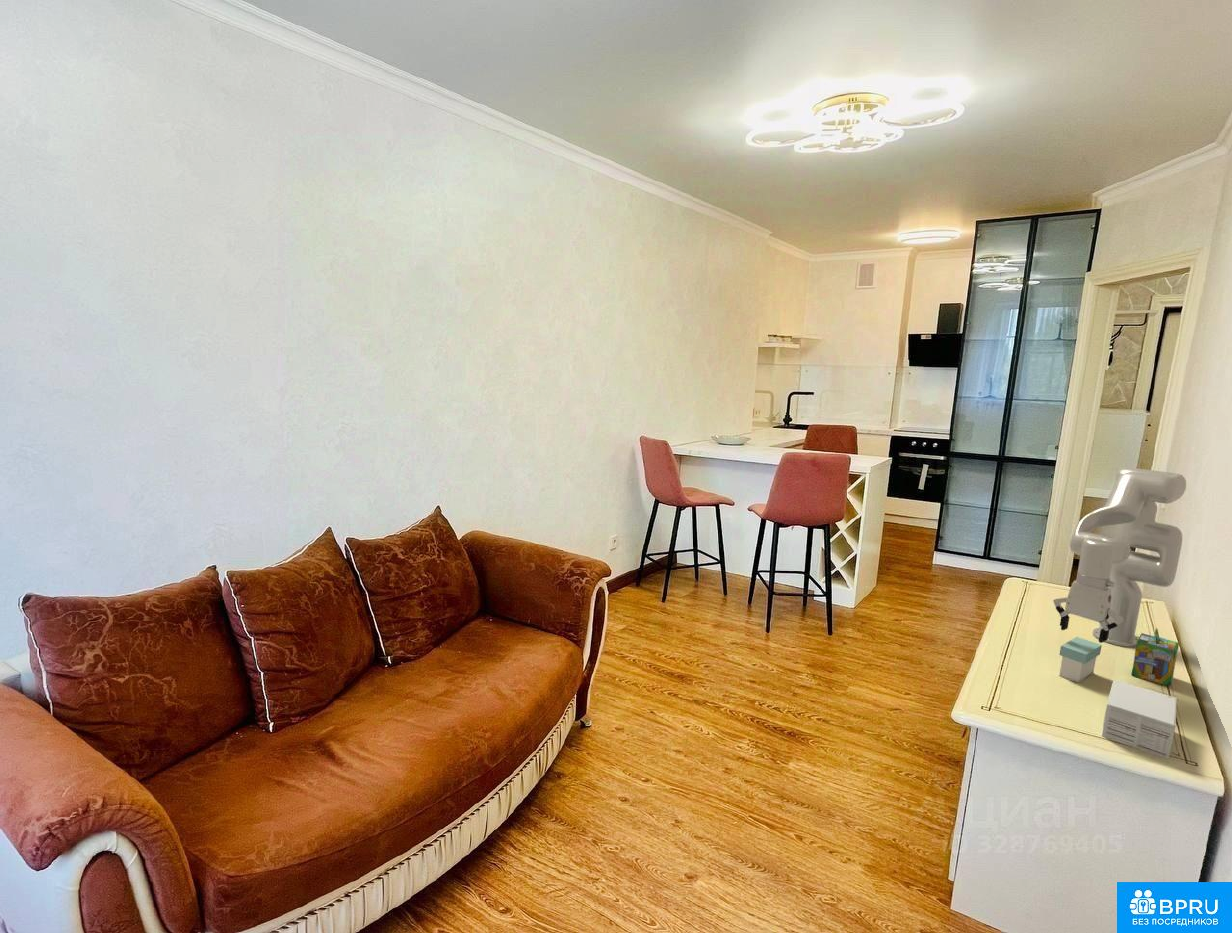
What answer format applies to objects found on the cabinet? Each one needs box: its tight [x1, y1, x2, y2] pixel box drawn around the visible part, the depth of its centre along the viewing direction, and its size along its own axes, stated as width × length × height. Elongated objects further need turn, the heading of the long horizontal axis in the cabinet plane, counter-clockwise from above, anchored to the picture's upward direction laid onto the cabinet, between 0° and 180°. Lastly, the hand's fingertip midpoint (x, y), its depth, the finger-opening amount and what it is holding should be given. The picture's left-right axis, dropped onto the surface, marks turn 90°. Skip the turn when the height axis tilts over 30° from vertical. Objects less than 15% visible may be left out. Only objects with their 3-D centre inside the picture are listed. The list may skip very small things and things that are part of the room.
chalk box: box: [1131, 627, 1180, 687], centre depth 186 cm, size 9×9×15 cm
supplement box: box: [1101, 679, 1178, 760], centre depth 157 cm, size 17×13×9 cm
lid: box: [1059, 636, 1103, 664], centre depth 186 cm, size 12×6×4 cm, turn 124°
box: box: [1058, 656, 1097, 684], centre depth 187 cm, size 11×5×6 cm, turn 124°
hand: (1082, 635), depth 185 cm, fingers open, 9 cm apart
